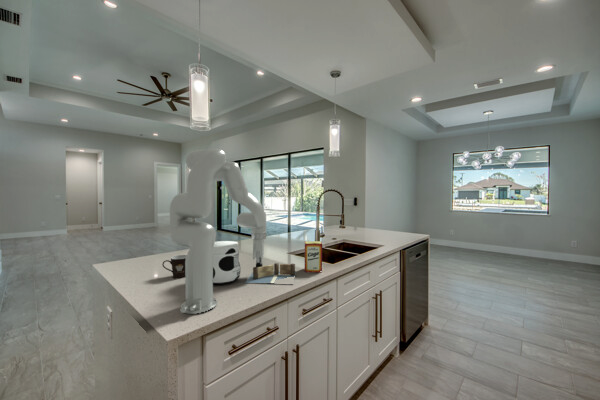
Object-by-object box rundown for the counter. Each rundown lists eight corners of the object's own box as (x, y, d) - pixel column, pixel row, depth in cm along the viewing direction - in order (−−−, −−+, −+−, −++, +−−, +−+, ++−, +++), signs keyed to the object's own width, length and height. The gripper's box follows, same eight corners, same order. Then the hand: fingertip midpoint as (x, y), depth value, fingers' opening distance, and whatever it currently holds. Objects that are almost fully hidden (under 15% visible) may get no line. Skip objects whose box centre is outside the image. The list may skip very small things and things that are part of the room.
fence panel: (271, 273, 129) (272, 263, 129) (274, 275, 127) (274, 264, 127) (252, 277, 122) (252, 267, 122) (254, 279, 120) (254, 268, 120)
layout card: (293, 284, 115) (293, 283, 115) (244, 283, 117) (244, 282, 117) (296, 272, 133) (296, 271, 133) (254, 271, 135) (254, 270, 135)
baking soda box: (304, 272, 134) (304, 242, 134) (304, 268, 141) (304, 240, 141) (322, 272, 134) (322, 243, 134) (321, 268, 141) (321, 240, 141)
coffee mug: (192, 274, 130) (192, 255, 130) (183, 279, 121) (183, 259, 121) (171, 273, 131) (171, 254, 131) (161, 278, 122) (161, 258, 122)
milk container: (201, 277, 124) (201, 242, 124) (236, 273, 132) (236, 239, 132) (205, 289, 109) (205, 249, 108) (244, 283, 117) (244, 245, 116)
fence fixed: (295, 275, 129) (295, 263, 129) (294, 276, 127) (294, 264, 127) (274, 274, 130) (274, 263, 130) (273, 275, 128) (273, 264, 128)
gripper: (252, 233, 132) (253, 267, 133) (249, 238, 118) (250, 276, 118) (267, 233, 133) (267, 266, 134) (265, 238, 118) (265, 276, 119)
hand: (259, 271), depth 126 cm, fingers closed
